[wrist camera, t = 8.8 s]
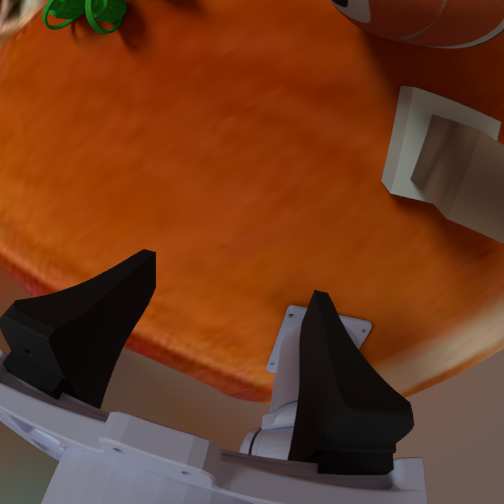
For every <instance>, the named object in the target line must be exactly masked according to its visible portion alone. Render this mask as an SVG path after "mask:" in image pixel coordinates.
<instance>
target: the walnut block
mask: <svg viewBox="0 0 504 504" xmlns="http://www.w3.org/2000/svg"><path fill="white" fill-rule="evenodd" d="M410 180H411V181H412V182H413V183H414V184H415V185H416V186H417V187H418V188H419V189H420V190H421V191H422V192H423V193H424V194H425V195H426V196H427V197H428V199H429V200H430V201H431V202H432V203H433V204H434V205H435V206H436V207H437V208H438V210H439V211H440V212H441V213H442V214H443V215H444V216H445V218H446V219H448V220H451V221H453V222H456V223H458V224H460V225H463V226H465V227H467V228H470V229H472V230H474V231H476V232H479V233H481V234H483V235H485V236H487V237H490V238H492V239H494V240H496V241H498V242H500V243H502V244H504V145H503V144H502V143H500V142H498V141H497V140H495V139H494V138H492V137H490V136H489V135H487V134H486V133H484V132H482V131H480V130H478V129H475V128H472V127H470V126H467V125H464V124H461V123H458V122H456V121H453V120H450V119H446V118H443V117H440V116H437V115H434V114H433V115H432V118H431V121H430V124H429V127H428V130H427V133H426V136H425V139H424V142H423V145H422V148H421V151H420V154H419V157H418V160H417V162H416V165H415V168H414V170H413V173H412V176H411V178H410Z"/></svg>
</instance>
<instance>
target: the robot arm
mask: <svg viewBox="0 0 504 504" xmlns="http://www.w3.org/2000/svg"><path fill="white" fill-rule="evenodd" d="M155 288H156V252H153V251H149V250H146V249H143V250H141V251H139V252H138V253H136V254H134V255H133V256H131V257H129V258H128V259H126V260H124V261H123V262H121V263H119V264H118V265H116V266H114V267H113V268H111V269H109V270H107V271H105V272H103V273H101V274H100V275H98V276H96V277H94V278H92V279H90V280H88V281H85V282H83V283H81V284H78V285H76V286H73V287H70V288H67V289H64V290H61V291H59V292H55V293H52V294H48V295H44V296H39V297H34V298H28V299H21V300H16V301H15V302H14V303H13V304H12V305H11V306H10V307H9V308H8V310H7V311H6V312H5V313H4V314H3V315H2V316H1V318H0V329H1V331H2V334H3V336H4V338H5V339H6V341H7V343H8V345H9V347H10V349H11V352H10V353H9V355H7V354H6V353H5V352H4V351H3V350H1V349H0V421H1V422H2V423H4V424H5V425H7V426H8V427H9V428H11V429H12V430H13V431H15V432H16V433H17V434H19V435H20V436H22V437H23V438H24V439H26V440H28V441H29V442H30V443H32V444H33V445H35V446H36V447H38V448H39V449H41V450H42V451H44V452H45V453H47V454H49V455H50V456H52V457H54V458H55V459H57V460H58V461H60V462H59V464H58V467H57V469H56V471H55V473H54V475H53V477H52V480H51V482H50V484H49V487H48V489H47V491H46V494H45V496H44V498H43V501H42V503H41V504H427V492H426V481H425V471H424V463H423V458H422V457H413V458H399V459H395V460H393V453H395V452H396V443H397V442H398V441H400V440H401V439H402V438H403V437H405V436H406V435H407V434H408V433H409V432H410V431H411V430H412V429H413V426H414V420H413V412H412V408H411V404H410V402H409V401H407V400H406V399H405V398H404V397H403V396H401V395H400V394H399V393H398V392H396V391H395V390H394V389H393V388H392V387H391V386H390V385H389V384H388V383H387V382H385V381H384V380H383V378H382V377H381V376H380V375H379V374H378V373H377V372H376V371H375V370H374V369H373V368H372V366H371V365H370V364H369V363H368V362H367V360H366V359H365V358H364V356H363V355H362V354H361V352H360V351H359V348H360V347H361V345H362V343H363V342H364V340H365V338H366V337H367V335H368V333H369V332H370V330H371V328H372V324H371V322H370V321H366V320H361V319H356V318H351V317H346V316H341V315H338V313H337V311H336V309H335V307H334V305H333V302H332V300H331V298H330V296H329V294H328V293H326V292H321V291H317V290H314V293H313V295H312V298H311V300H310V303H309V305H308V308H305V307H300V306H296V305H291V306H289V307H288V308H287V311H286V314H285V317H284V320H283V323H282V325H281V328H280V331H279V334H278V337H277V339H276V342H275V345H274V348H273V350H272V353H271V356H270V358H269V361H268V364H267V367H266V370H267V371H268V372H271V373H275V378H274V385H273V392H272V399H271V406H270V413H269V414H268V415H264V416H263V420H262V427H257V428H254V429H252V430H251V431H250V432H249V433H248V434H247V436H246V438H245V439H244V441H243V443H242V445H241V448H240V451H239V452H234V451H230V450H225V449H221V448H220V447H219V446H218V445H217V444H216V443H214V442H213V441H211V440H209V439H207V438H205V437H202V436H199V435H196V434H193V433H189V432H186V431H182V430H179V429H175V428H172V427H169V426H165V425H162V424H159V423H156V422H153V421H150V420H147V419H144V418H141V417H139V416H136V415H133V414H129V413H126V412H122V411H118V412H111V413H107V412H105V411H102V410H100V408H101V404H102V401H103V398H104V394H105V392H106V389H107V386H108V383H109V380H110V377H111V375H112V372H113V370H114V367H115V364H116V362H117V360H118V357H119V355H120V353H121V350H122V348H123V346H124V344H125V342H126V340H127V339H128V337H129V335H130V334H131V332H132V330H133V329H134V327H135V325H136V324H137V322H138V321H139V319H140V317H141V316H142V314H143V312H144V311H145V309H146V307H147V306H148V304H149V302H150V300H151V297H152V295H153V293H154V290H155ZM289 314H293V315H289ZM364 329H366V330H364Z"/></svg>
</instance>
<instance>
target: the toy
mask: <svg viewBox="0 0 504 504" xmlns="http://www.w3.org/2000/svg"><path fill="white" fill-rule="evenodd" d="M330 1H331V2H332V4H333V5H334V6H335V8H336V9H337V10H338V11H339V12H340V13H341V14H342V15H343V16H345V17H346V18H347V19H348V20H350V21H351V22H352V23H354V24H355V25H356V26H358V27H359V28H361V29H363V30H364V31H366V32H368V33H370V34H373V35H375V36H378V37H380V38H383V39H387V40H391V41H395V42H399V43H405V44H411V45H418V46H426V47H434V48H466V47H472V46H476V45H479V44H482V43H485V42H487V41H489V40H491V39H492V38H494V37H496V36H497V35H498V34H500V33H501V32H502V31H503V30H504V0H330Z"/></svg>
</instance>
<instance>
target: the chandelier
mask: <svg viewBox="0 0 504 504" xmlns="http://www.w3.org/2000/svg"><path fill="white" fill-rule="evenodd" d="M109 5H110V6H109ZM107 10H108V11H107ZM84 11H86V16H87V19H88V22H89V24H90V25H91V27H92V28H93V29H94V30H95V31H96V32H97V33H99V34H109V33H112V32H114V31H116V30H117V29H118V28H119V26H120V24H121V22H122V17H123V16H124V15H125V13H126V11H127V4H126V1H124V0H49V1H48V3H47V4H46V6H45V8H44V11H43V15H42V20H43V23H44V24H45V25H46V26H47V27H48V28H50V29H53V30H57V29H61V28H63V27H65V26H67V25H69V24H70V23H72V22H73V21H74V20H75V19H76V18H78V17H80V16H81V15H82V14H83V13H84ZM106 11H107V12H106ZM48 12H49V14H50V15H51V16H54V17H56V18H61V19H68V20H67V21H65V22H63V23H61V24H59V25H54V26H52V25H49V24H48V22H47V15H48ZM96 20H97V21H103V22H108V23H113V22H115V24H114V26H113V27H112V29H111V30H109V31H108V30H105V29H103V28H102V27H101V26H100V25H99V24H98V23H97V21H96Z"/></svg>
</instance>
